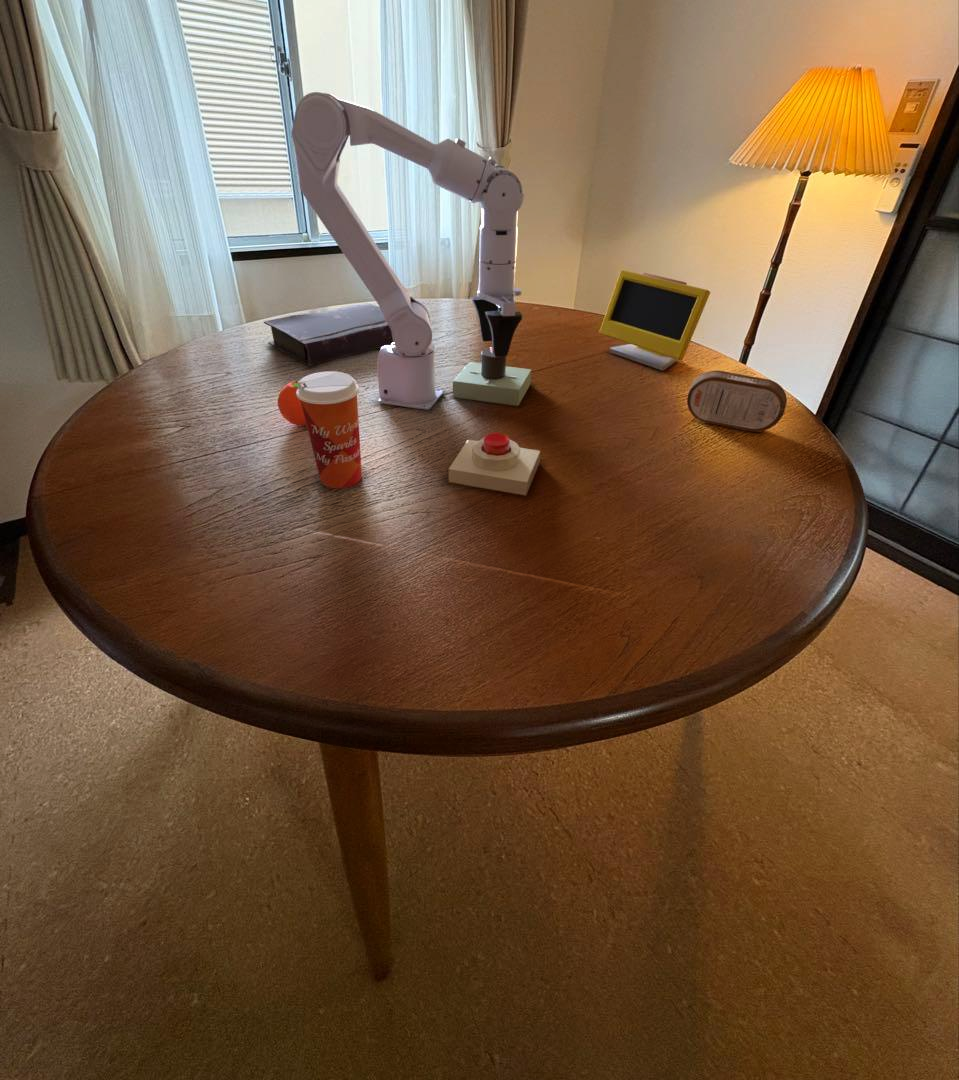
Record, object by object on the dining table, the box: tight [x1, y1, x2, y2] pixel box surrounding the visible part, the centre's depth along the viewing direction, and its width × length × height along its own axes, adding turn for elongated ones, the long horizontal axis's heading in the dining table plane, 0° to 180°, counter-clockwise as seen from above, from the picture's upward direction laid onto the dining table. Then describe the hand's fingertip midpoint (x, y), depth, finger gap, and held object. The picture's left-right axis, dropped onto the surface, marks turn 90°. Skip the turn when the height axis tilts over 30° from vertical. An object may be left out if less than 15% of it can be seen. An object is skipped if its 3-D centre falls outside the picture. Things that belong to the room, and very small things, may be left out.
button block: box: [448, 437, 541, 496], centre depth 79 cm, size 11×9×4 cm
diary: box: [263, 302, 393, 367], centre depth 120 cm, size 19×25×5 cm
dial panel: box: [452, 361, 532, 407], centre depth 102 cm, size 12×10×3 cm
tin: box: [686, 369, 788, 433], centre depth 91 cm, size 15×3×8 cm, turn 65°
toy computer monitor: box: [598, 269, 711, 372], centre depth 113 cm, size 20×8×16 cm, turn 41°
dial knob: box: [480, 346, 507, 379], centre depth 100 cm, size 4×4×4 cm
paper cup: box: [296, 370, 362, 489], centre depth 74 cm, size 8×8×14 cm
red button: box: [483, 432, 511, 456], centre depth 77 cm, size 4×4×2 cm
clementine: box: [277, 380, 307, 427], centre depth 88 cm, size 8×7×7 cm
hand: (494, 348), depth 95 cm, fingers open, 7 cm apart
